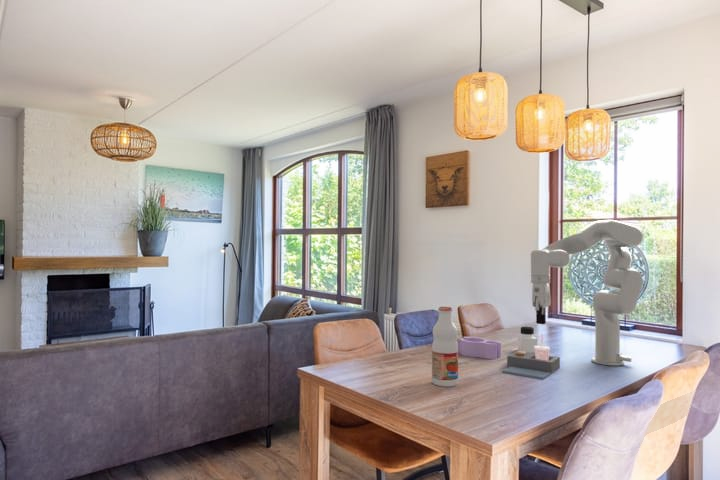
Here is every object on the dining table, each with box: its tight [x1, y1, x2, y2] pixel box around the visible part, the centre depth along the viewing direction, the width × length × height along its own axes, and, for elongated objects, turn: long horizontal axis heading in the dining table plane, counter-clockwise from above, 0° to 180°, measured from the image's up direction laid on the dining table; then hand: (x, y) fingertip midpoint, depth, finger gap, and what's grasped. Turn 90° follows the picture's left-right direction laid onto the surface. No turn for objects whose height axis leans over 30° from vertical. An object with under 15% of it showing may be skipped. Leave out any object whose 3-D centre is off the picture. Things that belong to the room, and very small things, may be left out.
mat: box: [502, 366, 552, 380], centre depth 187 cm, size 16×9×1 cm, turn 52°
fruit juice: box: [431, 306, 459, 388], centre depth 173 cm, size 9×9×28 cm
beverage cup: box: [534, 334, 551, 361], centre depth 195 cm, size 6×6×14 cm
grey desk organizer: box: [506, 351, 561, 375], centre depth 197 cm, size 18×12×4 cm, turn 52°
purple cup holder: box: [456, 336, 502, 360], centre depth 220 cm, size 20×12×7 cm, turn 47°
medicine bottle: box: [517, 325, 538, 354], centre depth 228 cm, size 7×7×12 cm
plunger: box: [514, 350, 525, 355], centre depth 201 cm, size 4×4×5 cm
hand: (541, 323), depth 196 cm, fingers closed
